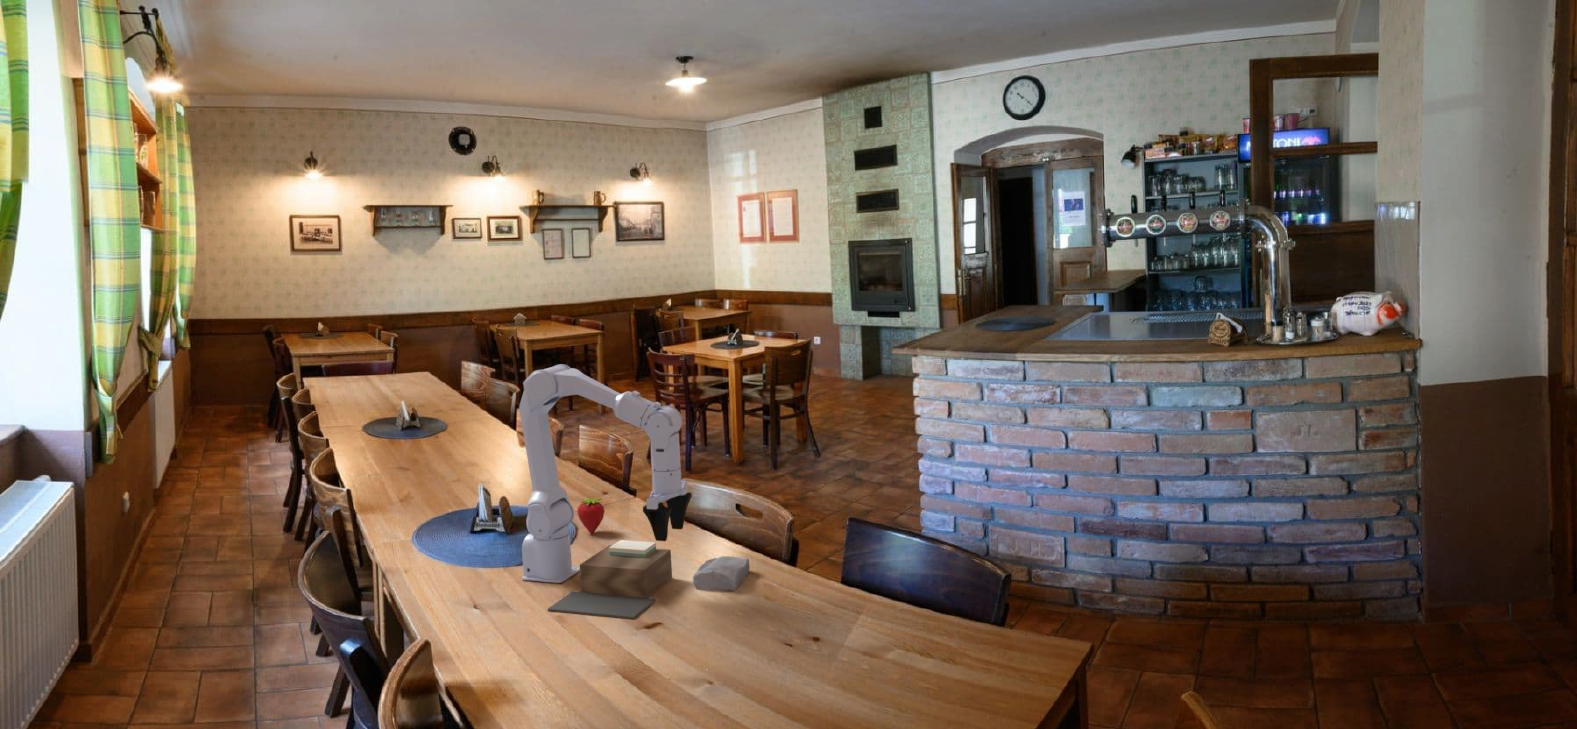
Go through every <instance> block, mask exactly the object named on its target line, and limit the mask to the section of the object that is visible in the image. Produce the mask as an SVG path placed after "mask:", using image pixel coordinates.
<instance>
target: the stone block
mask: <svg viewBox="0 0 1577 729" xmlns="http://www.w3.org/2000/svg"><path fill="white" fill-rule="evenodd" d="M750 568H751V566H750V559H749V558H748V557H746V558H743V557H739V556H738V557H736V556H729V555H728V556H726V555H725V556H723V555H722V556H719V557H714V558H711V559H708V560H705V561H704V563H702V564H701V565H700V566H699V568H697V570H696V572H695V573H694V574H693V576H692V581H693V584H694V587H695V589H696V590H699V591H706V592H710V591H713V592H714V591H715V592H716V591H719V592H721V591H722V592H726V591H727V592H729V591H730V592H734V591H735V592H736V590H737V589H738V588H739V587H740V585H741V584H742V583H743V582H744V580H745V579H746V577H747V576H748V574H749V573H750Z"/></svg>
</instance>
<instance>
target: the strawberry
mask: <svg viewBox="0 0 1577 729" xmlns="http://www.w3.org/2000/svg"><path fill="white" fill-rule="evenodd" d="M593 494H594V492H592V493H591V496H590V498H582V501H579V503H580V504H579V505H578V506H577V511H576V512H577V516H578V519H579V520H580V522H581V524H582V525H583V527H584V528H585V529H586V530H587V531H588V533H590V534H594V533H595V532H596V530H597V528H598V527H599V526H600V525H601V523H602V521H603V519H604V516H605V507H604V506H603V505H602V501H601V500H602V498H593V499H592V496H593Z"/></svg>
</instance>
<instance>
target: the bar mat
mask: <svg viewBox="0 0 1577 729" xmlns="http://www.w3.org/2000/svg"><path fill="white" fill-rule="evenodd" d="M655 602H656V598H651V597H649V598H642V597H631V596H619V595H608V594H597V593H586V592H581V591H574V590H572V591H571V592H570V593H568V594H566V595H565V596H563V597H562V598H561V599H559V600H558V601H556V602H555V603H554V604H553V605H551V606H549V607H548V608H547V611H548V612H554V613H556V612H557V613H566V614H577V615H589V616H595V617H596V616H598V617H607V618H617V619H618V618H619V619H628V620H629V619H630V620H636V618H637V617H638V616H639V615H640V614H642V613H643V612H644V611H645V610H647V609H648V608H649V607H650V606H651V605H653V603H655Z"/></svg>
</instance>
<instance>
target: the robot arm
mask: <svg viewBox="0 0 1577 729" xmlns="http://www.w3.org/2000/svg"><path fill="white" fill-rule="evenodd" d="M522 385H523V393H522V396H521V399H520V403H519V407H518V408H519V411H518V412H519V415H520V421H521V428H522V434H523V438H524V445H525V452H526V458H527V465H528V469H529V475H530V476H529V477H530V482H531V486H532V493H531V495H530V498H529V500H528V502H527V505H526V507H527V512H528V513H527V516H526V519H525V520H526V522H525V523H526V524H525V525H526V528H527V531H528V532H529V533H528V534H527V535H526V536H525V537H524V539H523V540H522V541H523V542H522V545H521V555H522V567H523V568H522V570H523V576H522V577H521V580H522V581H533V582H543V583H544V582H545V583H553V584H554V583H555V584H556V583H558V584H562V583H564V582H565V581H567V580H568V579H570V578H572V576H574V575H575V574H577V573H579V572H580V567H574V566H573V564H572V563H573V562H572V549H571V535H570V524H571V523H572V522H573V520H574V517H575V509H574V507H573V504H572V503H571V502H570V500H569V497H568V492H567V491H566V489H564V488H563V487H562V486H561V484H560V480H559V474H558V468H557V460H556V456H555V449H554V441H553V437H552V430H551V424H550V418H549V411H551V409H552V408H553V407H554V406H555V405H556V403H557V402H558V401H559V400H560V399H562V398H563V397H568V396H575V395H578V396H580V397H583V398H585V399H588V400H590V401H593V402H596V403H597V404H599V405H600V404H601V405H603V406H605V407H607V408H610V409H612V410H613V413H614V415H615V417H616V418H617V419H620V420H622V421H623V422H627V423H628V424H630V425H633V426H634V427H636V428H639V429H642V430H643V431H645V432H644V433H645V434H646V436H648V438H649V439H650V460H651V476H652V477H651V481H652V482H651V483H652V489H651V492H650V494H649V497H648V498H647V499H646V504H645V505H644V506H642V512H643V514H644V515H645V516H646V518H647V520H648V522H649V524H650V527H651V529H652V532H653V535H654V539H655V541H657V542H666V541H667V540H668V535H669V521H670V526H671V529H672V530H683V528H684V523H685V518H686V512H687V511H688V507H689V504H690V501H691V499H692V497H693V495H692V493H691V492H689V491H688V482H687V480H682V469H681V446H680V433H679V432H680V429H681V428H682V426H683V421H684V420H683V415H682V414H681V412H680V411H679V410H678V409H677V408H675V407H674V406H672V405H663V406H661V404H662V403H660V402H659V401H656V402H654V401H651V400H649V399H647V398H644V397H642V396H641V392H639V391H637V390H633V391H632V392H631V391H625V392H623V393H620V392H618V391H616V390H614V389H612V388H610V387H609V386H606V385H605V384H603V383H601V382H599V381H597V379H596V380H595V379H594V378H591V377H590V376H588V375H587V374H584V373H583V372H581V371H580V370H579V369H577V368H573V367H572V368H571V367H570V366H569V365H567V364H561V363H560V364H555V365H553V366H551V367H548V368H544V369H537V370H534V371H532V372H531V374H529V376H527V378H526V379H524V381H523V383H522ZM664 503H666V505H664Z"/></svg>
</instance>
